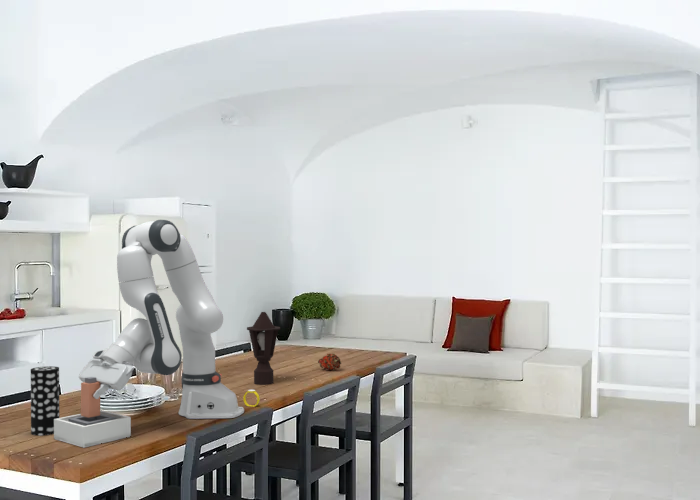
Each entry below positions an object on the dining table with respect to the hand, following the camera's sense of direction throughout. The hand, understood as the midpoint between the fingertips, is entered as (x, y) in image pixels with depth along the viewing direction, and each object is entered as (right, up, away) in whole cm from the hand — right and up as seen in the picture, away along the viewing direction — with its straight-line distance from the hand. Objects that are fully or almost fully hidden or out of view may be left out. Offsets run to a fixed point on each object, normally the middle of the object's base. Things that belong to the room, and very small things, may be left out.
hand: (88, 396), depth 230 cm
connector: (0, -6, 0) cm, 6 cm away
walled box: (+1, -13, +1) cm, 13 cm away
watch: (+44, -12, +45) cm, 64 cm away
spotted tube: (-16, -13, +8) cm, 22 cm away
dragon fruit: (+70, -11, +121) cm, 140 cm away
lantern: (+43, -12, +89) cm, 100 cm away
